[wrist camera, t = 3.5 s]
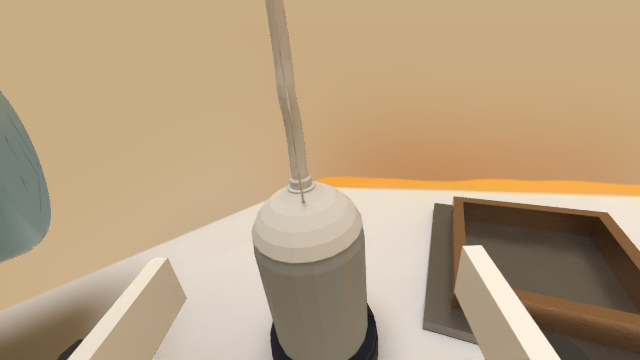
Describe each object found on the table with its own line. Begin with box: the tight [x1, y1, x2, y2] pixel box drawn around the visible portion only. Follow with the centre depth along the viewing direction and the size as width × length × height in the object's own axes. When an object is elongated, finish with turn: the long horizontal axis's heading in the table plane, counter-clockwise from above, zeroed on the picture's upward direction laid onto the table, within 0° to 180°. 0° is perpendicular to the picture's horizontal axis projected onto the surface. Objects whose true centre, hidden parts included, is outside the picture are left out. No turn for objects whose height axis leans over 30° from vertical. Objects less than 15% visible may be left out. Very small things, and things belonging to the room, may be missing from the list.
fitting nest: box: [423, 196, 640, 360], centre depth 25 cm, size 18×18×4 cm
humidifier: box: [252, 0, 378, 360], centre depth 16 cm, size 8×8×25 cm
